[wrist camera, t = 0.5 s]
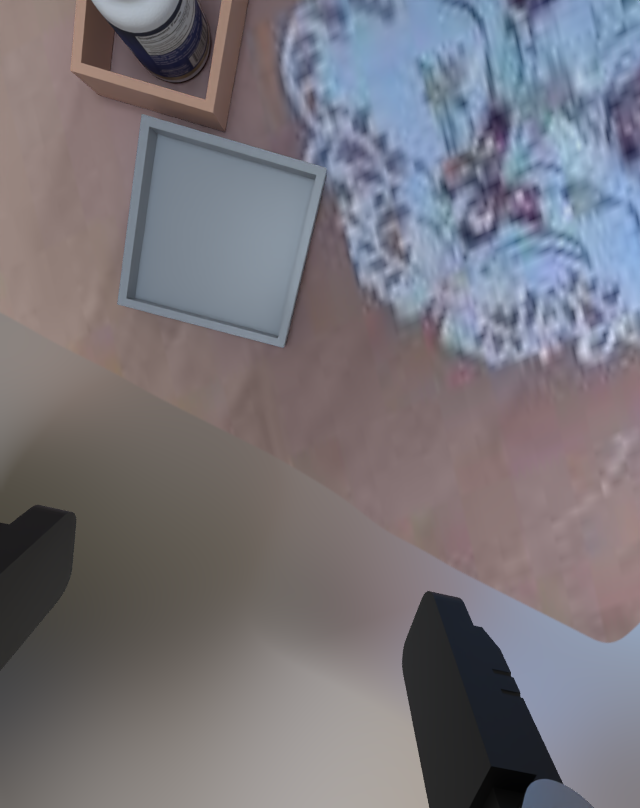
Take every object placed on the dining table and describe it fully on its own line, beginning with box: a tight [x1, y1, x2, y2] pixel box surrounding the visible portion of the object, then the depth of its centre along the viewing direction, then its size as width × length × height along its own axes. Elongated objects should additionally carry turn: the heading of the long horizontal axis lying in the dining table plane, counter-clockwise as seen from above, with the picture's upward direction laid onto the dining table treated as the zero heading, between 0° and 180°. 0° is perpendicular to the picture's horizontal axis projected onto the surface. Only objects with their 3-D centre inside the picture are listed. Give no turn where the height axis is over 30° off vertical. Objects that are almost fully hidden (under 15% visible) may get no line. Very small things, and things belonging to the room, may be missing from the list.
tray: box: [117, 114, 327, 348], centre depth 32 cm, size 13×13×2 cm
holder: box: [70, 0, 248, 132], centre depth 27 cm, size 9×9×4 cm
